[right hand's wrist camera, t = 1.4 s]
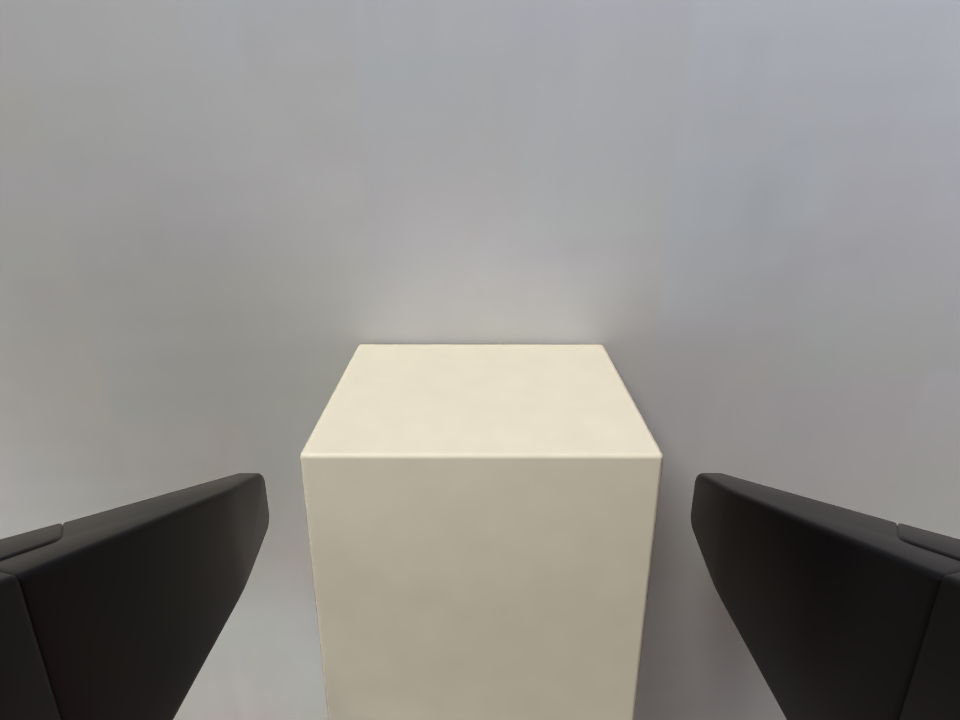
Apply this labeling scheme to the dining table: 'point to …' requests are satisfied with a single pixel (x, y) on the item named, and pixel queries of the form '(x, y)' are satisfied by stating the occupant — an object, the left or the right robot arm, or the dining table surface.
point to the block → (481, 534)
